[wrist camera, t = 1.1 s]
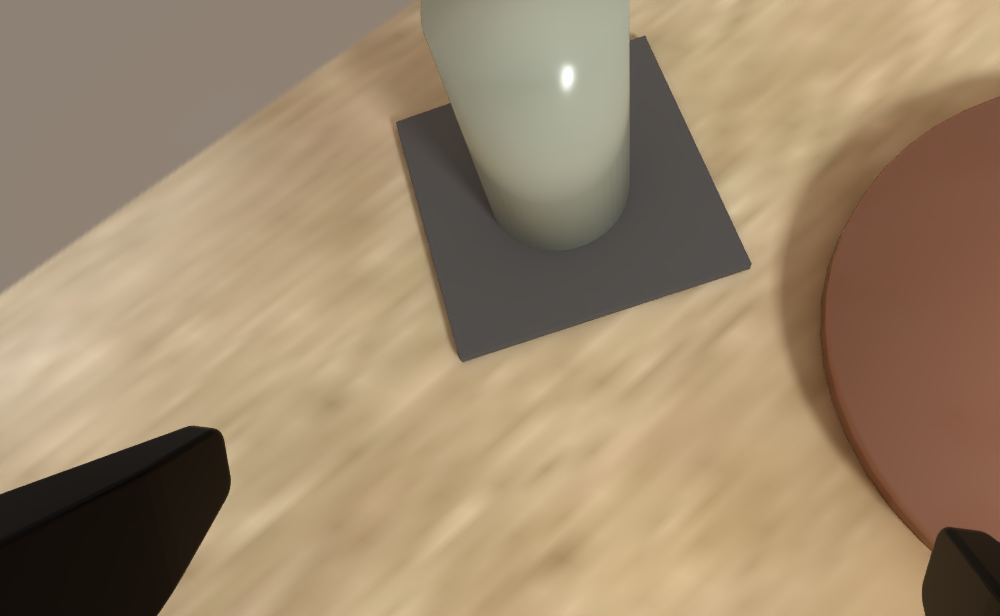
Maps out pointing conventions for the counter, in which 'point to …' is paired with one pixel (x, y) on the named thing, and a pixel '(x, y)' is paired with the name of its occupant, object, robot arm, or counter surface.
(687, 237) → the rubber mat
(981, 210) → the terracotta plate
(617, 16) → the sage canister
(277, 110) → the counter surface
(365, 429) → the counter surface
